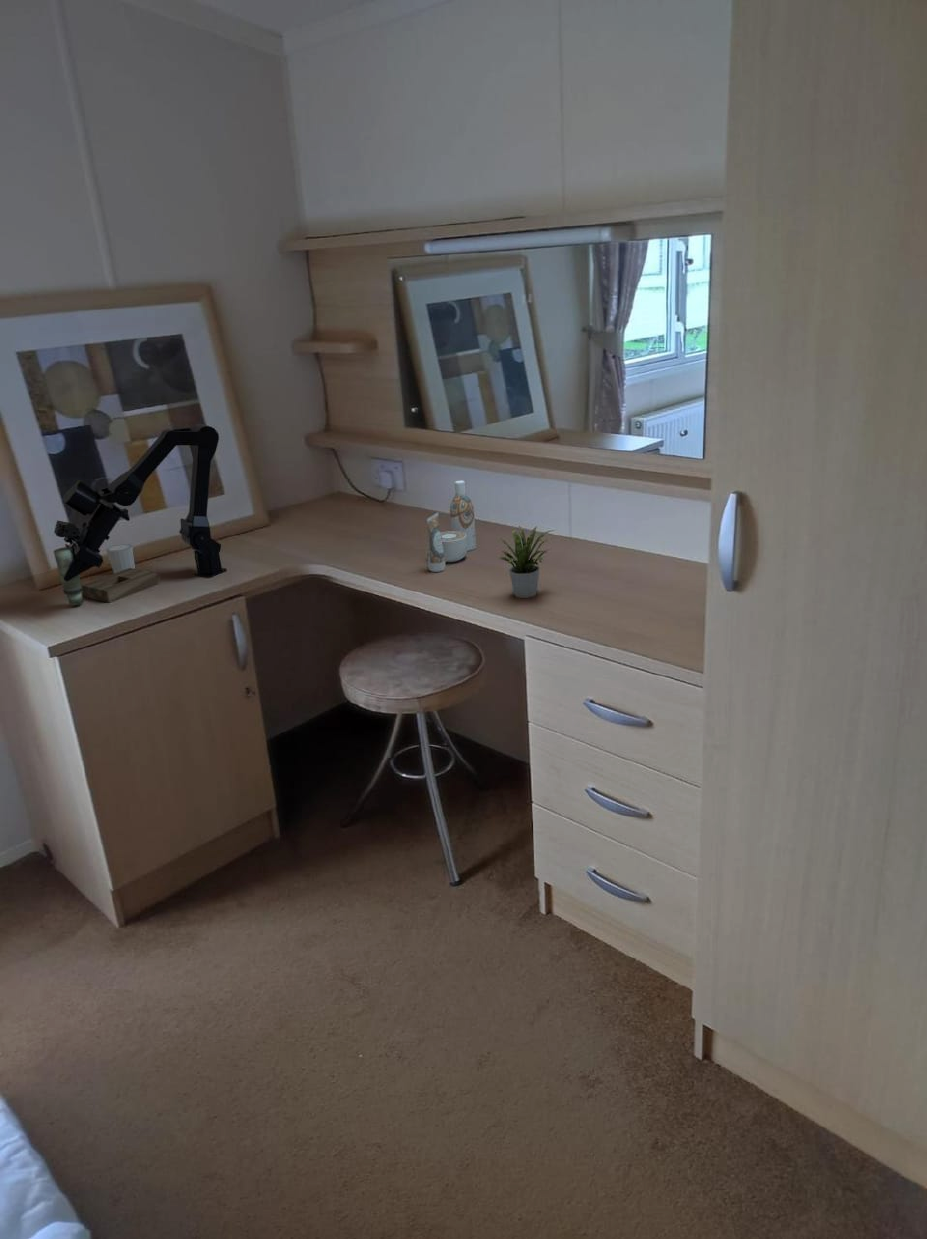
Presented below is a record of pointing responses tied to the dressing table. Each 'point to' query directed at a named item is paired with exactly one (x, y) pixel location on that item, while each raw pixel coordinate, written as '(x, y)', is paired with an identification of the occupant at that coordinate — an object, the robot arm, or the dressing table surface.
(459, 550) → the cosmetic set
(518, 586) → the house plant
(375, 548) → the dressing table surface
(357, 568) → the dressing table surface
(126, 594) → the board
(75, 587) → the peg
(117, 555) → the shot glass
